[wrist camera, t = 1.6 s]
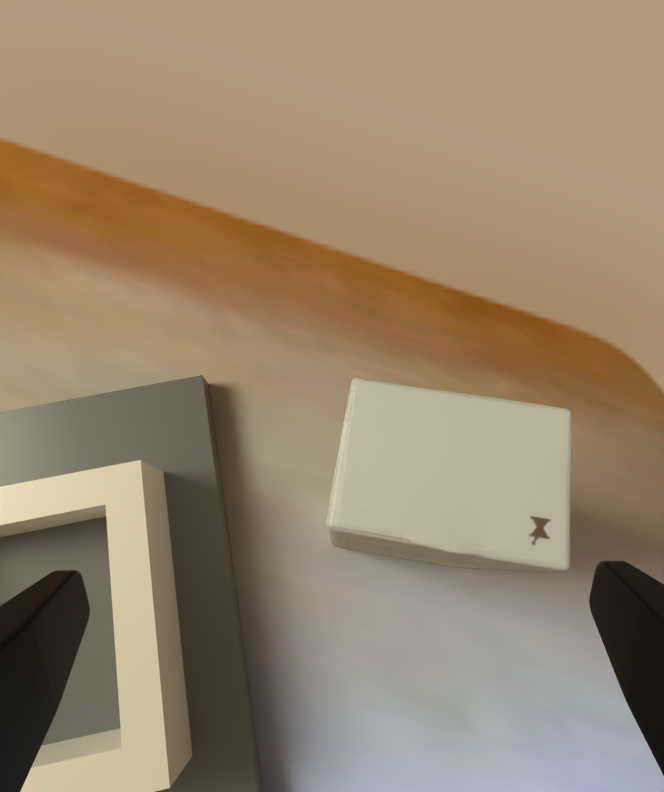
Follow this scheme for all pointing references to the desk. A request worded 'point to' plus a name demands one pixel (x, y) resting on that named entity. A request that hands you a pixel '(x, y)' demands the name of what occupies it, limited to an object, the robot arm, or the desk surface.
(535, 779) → the desk surface
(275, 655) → the desk surface
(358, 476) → the skincare box
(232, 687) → the socket board
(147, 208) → the desk surface
